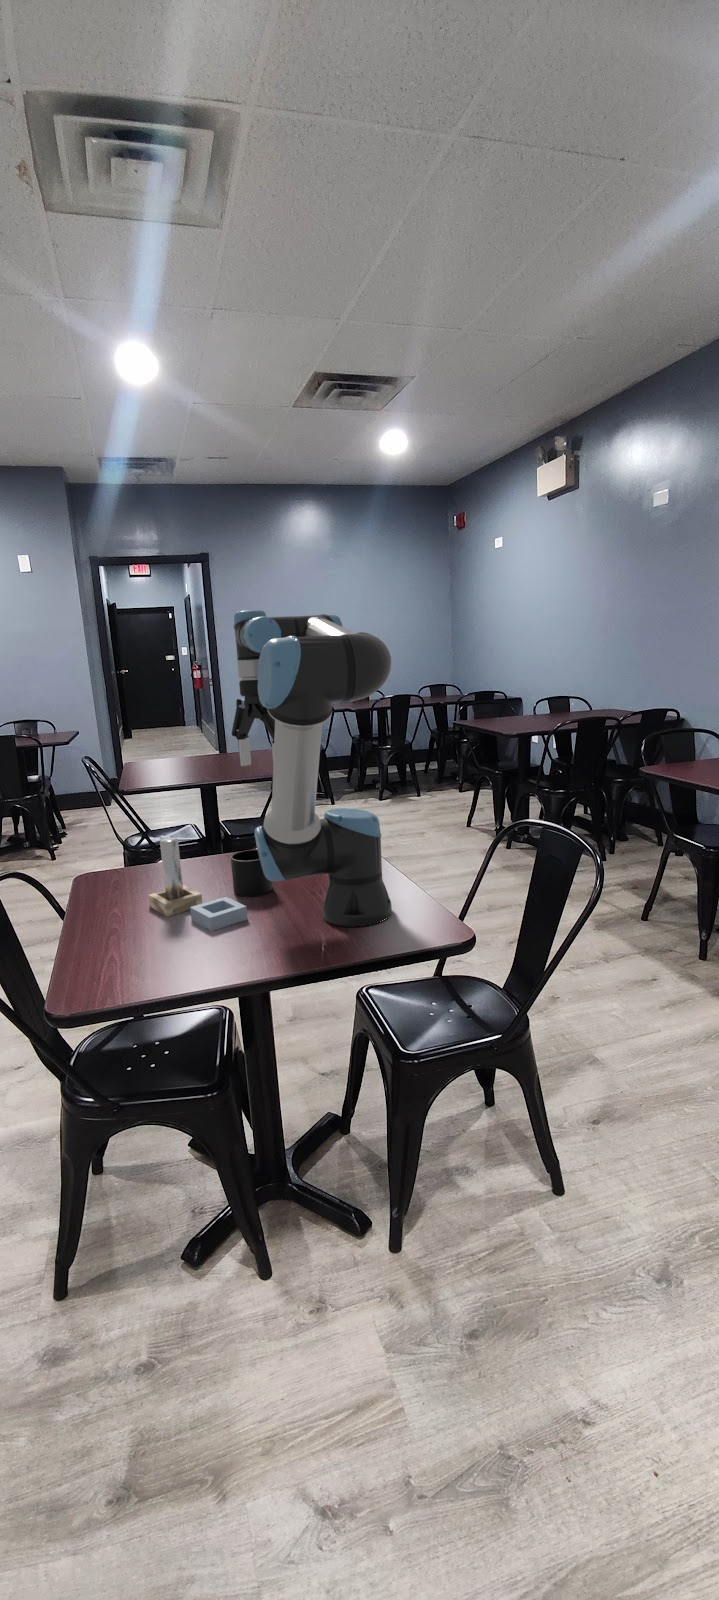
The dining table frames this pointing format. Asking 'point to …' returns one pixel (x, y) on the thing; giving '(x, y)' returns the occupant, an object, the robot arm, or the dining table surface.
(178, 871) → the pin
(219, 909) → the socket block
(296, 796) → the robot arm
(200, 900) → the block
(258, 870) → the mug
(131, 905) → the dining table surface
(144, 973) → the dining table surface
